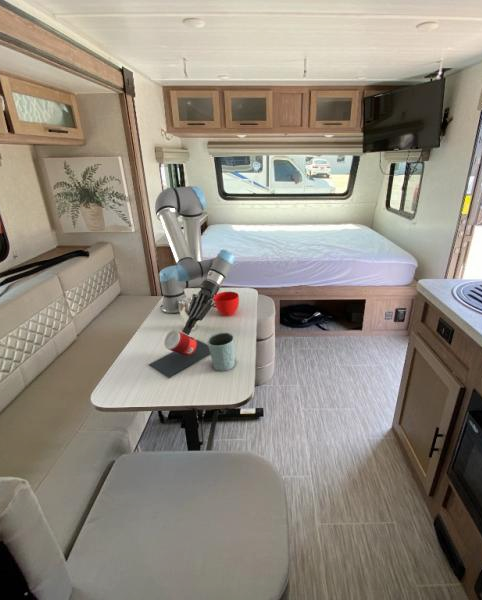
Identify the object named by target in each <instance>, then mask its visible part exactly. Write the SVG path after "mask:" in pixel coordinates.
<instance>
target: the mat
mask: <svg viewBox="0 0 482 600" xmlns="http://www.w3.org/2000/svg"><path fill="white" fill-rule="evenodd" d="M195 340H196V342H197V347H196V350H195V352H194V353H193V354H192V355H189V356H185V355H183V354H180V353H177V352H174V351H172V352H171V353H168V354H166V355H164V356H163V357H160V358H159V359H157V360H154V361H152V362H151V363H149V364H148V365H149V366H150V367H151V368H152V369H155V370H156V371H158V372H159V373H160V374H162V375H163V376H165V377H166V378H168V379H170V378H171V377H173V376H175V375H177V374H179V373H180V372H182V371H184V370H186V369H187V368H189V367H190V366H192V365H194V364H196V363H198V362H199V361H201V360H203V359H204V358H206V357H208V356H211V354H210V350H209V347H208V344H207V343H204V342H202V341H200V340H198V339H195Z"/></svg>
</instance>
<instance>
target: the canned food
mask: <svg viewBox="0 0 482 600" xmlns="http://www.w3.org/2000/svg"><path fill="white" fill-rule="evenodd" d="M196 340H197V339H196V338H194V337H193V336H191V335H187V334H185V333H183V332H182V331H178V330H176V329H173V330H170V331H169V332H168V333H167V334H166V336H165V338H164V347H165V349H166V350H169V351H170V352H171V351H172V352H177V353H180V354H183V355H185V356H189V355H192V354H193V353H194V352H195V350H196V347H197V342H196Z"/></svg>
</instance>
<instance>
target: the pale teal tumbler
mask: <svg viewBox="0 0 482 600" xmlns="http://www.w3.org/2000/svg"><path fill="white" fill-rule="evenodd" d="M206 344H207V345H208V347H209V350H210V357H211V358H210V359H211V362H212V366H213V368H214V369H215V370H216V371H218V372H226V371H228V370H230V369H232V368H234V367H235V364H236V362H235V361H236V360H235V336H234V335H233V334H232V333H230V332H218V333H214V334H212V335H210V336H209V337H208V338H207V341H206Z"/></svg>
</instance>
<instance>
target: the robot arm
mask: <svg viewBox="0 0 482 600" xmlns="http://www.w3.org/2000/svg"><path fill="white" fill-rule="evenodd" d="M206 208H207V202H206V197H205V195H204V193H203V190H202V189H201V188H200V187H199V186H197V185H196V186H193V185H192V186H190V185H188V186H179V187H178V186H177V187H168V188H164V189H163V190H162V191H161V192H160V193H159V194H158V195H157V197H156V200H155V202H154V212H155V215H156V218H157V219H158V221H160V222H161V225H162V229H163V230H164V233H165V236H166V239H167V242H168V245H169V248H170V250H171V253H172V256H173V259H174V261H175V264H176V265H175V264H174V265H169V266H167V267H164V268H162V269H161V270H160V271H159V282H160V287H161V292H162V304H161V305H160V308H161V311H162V312H163V313H165V314H180V311H179V302H178V301H179V300H180V299H182V298H188V297H187V295H186V293H185V289H189V288H193V287H198V286H199V287H200V290H199V291H198V292H197V293H192V295H191V296H192V297H191V298H192V301H191V304H190V306H189V309H188V312H187V315H188V316H189V318H188V320H187V322H186V325H185V327H184V329H183V328H182V331H181V333H184V334H186V335H188V336H190V334H191V332H192V331H193V330H192V328H193V327H194V326H195V325H196V324H197V322H202V320H204V318H205V317H206V316H207V314H208V313H209V311H210V310H211V309H212V308H213V307H212V306H213V305H214V306H215V304H216V302H215V301H214V300H213V298H214V296H215V295H217V294H218V293H219V291H220V288H221V287H222V285H223V284H224V281H225V279H226V278H227V276H228V274H229V272H230V270H231V268H232V266H233V265H234V263H235V260H236V256H235V255H234V253H232V252H231V251H229V250H227V249H220V251H219V252H218V253H217V255H216V257H214V258H213V257H212V258H209V259H203V247H202V246H203V245H202V232H201V221H200V220H201V218H202V216H203V211H205V210H206ZM178 215H179V216H178ZM178 217H181V219H182V226H181V224H180V221H179V218H178ZM182 227H183V229H182ZM191 330H192V331H191Z"/></svg>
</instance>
